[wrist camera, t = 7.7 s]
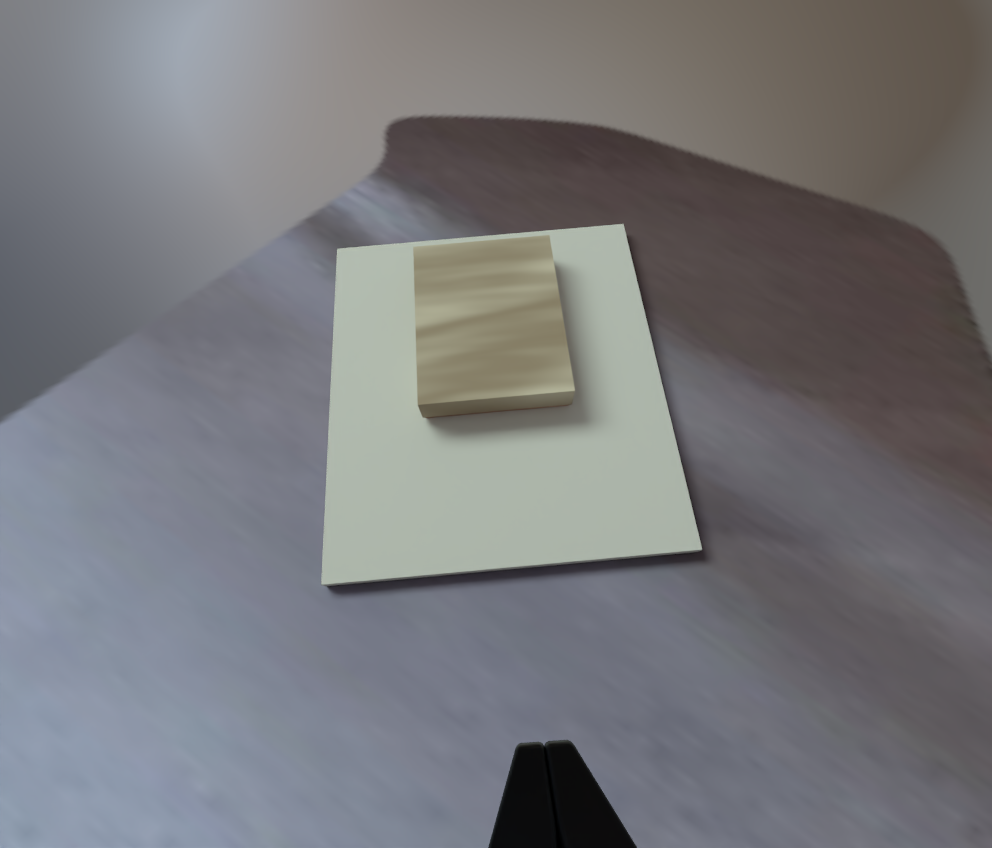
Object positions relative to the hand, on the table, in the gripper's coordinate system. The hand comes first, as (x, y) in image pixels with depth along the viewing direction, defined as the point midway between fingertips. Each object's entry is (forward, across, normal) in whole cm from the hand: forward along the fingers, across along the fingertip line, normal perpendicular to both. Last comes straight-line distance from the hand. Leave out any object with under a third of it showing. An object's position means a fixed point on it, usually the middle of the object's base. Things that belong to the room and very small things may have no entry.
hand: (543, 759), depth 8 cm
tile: (+17, 0, 0) cm, 17 cm away
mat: (+19, 0, 0) cm, 19 cm away
